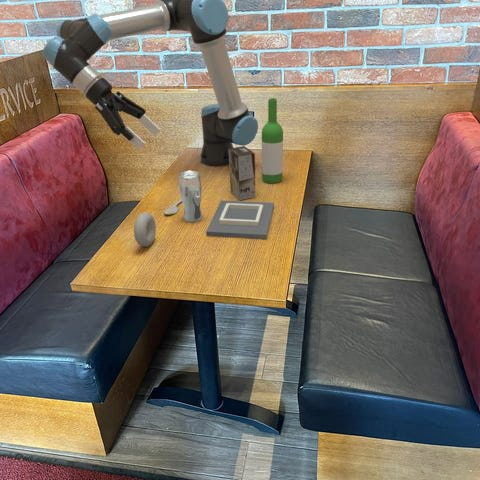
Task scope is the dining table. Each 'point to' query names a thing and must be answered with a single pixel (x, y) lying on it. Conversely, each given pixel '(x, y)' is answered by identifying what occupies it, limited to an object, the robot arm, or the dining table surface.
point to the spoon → (172, 208)
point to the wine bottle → (272, 146)
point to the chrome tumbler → (190, 195)
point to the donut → (144, 229)
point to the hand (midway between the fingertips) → (150, 139)
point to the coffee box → (242, 172)
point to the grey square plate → (241, 220)
